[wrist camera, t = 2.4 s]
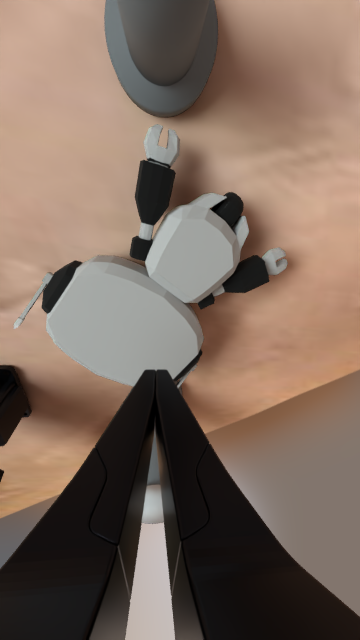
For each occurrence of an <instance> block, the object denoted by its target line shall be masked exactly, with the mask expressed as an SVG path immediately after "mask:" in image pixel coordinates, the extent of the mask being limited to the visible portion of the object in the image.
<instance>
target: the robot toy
mask: <svg viewBox="0 0 360 640" xmlns="http://www.w3.org/2000/svg"><path fill="white" fill-rule="evenodd" d="M162 127H163V126H161V125H158V124H157V125H154V126H152V127H150V128H149V129H148V132H147V135H146V137H145V140H144V147H145V151H146V156H147V160H148V161H145V160H142V161H140V167H139V174H138V180H137V186H136V193H135V200H136V204H137V208H138V213H139V216H140V219H141V227H140V233H139V236H136V237H134V238H132V243H131V249H130V256H131V257H132V258H135V259H138V260H142V261H145V264H146V268H145V267H143V266H141V265H140V264H137V263H135V262H132V261H130V260H127V259H125V258H121V257H117V256H108V255H97V256H95V257H93V258H91V259H89V260H87V261H85V262H84V263H82V262H79V261H76V260H75V261H73V262H71V263H69V264H67V265H66V266H64V267H63V268H61V269H59V270H58V271H57V272H55V273H54V274H52V273H51V272H48V273H47V274H46V276H45V277H44V279H43V280H42V281H43V284H42V285H41V287H40V288H39V290H38V291H37V293H36V294H35V295H34V297H33V298H32V300H31V301H30V303H29V304H28V306H27V307H26V309H25V310H24V312H23V313H22V315H21V316H20V317H19V318H18V319H17V320H16V322H15V323H14V329H15V328H17V327H18V326H20V325H21V324H22V322H23V321H24V319H25V316H26V315H27V313H28V312H29V310H30V309H31V307H32V306H33V305H34V303H35V302H36V300H37V299H38V297H39V296H40V294H41V293H42V291H43V290H44V291H43V301H42V309H43V310H44V311H45V312H46V313H47V324H46V330H47V332H48V334H49V335H50V337H51V338H52V340H53V341H54V343H55V344H56V345H57V346H58V347H59V348H60V349H61V350H62V351H63V352H65V353H66V354H67V355H68V356H69V357H71V358H72V359H73V360H75V361H76V362H78V363H79V364H81V365H82V366H84V367H85V368H87V369H88V370H90V371H91V372H93V373H95V374H96V375H99V376H101V377H104V378H107V379H110V380H113V381H116V382H119V383H122V384H126V385H130V386H134V385H135V384H136V382H137V381H138V379H139V378H140V376H141V375H142V373H143V372H144V370H146V369H155V370H157V369H166V370H168V372H169V373H170V375H171V377H172V379H173V380H174V381H177V380H178V379H180V378H181V379H180V380H179V382H178V383H177V384H176V386H177V387H178V388H179V387H180V385H181V384H182V383H183V381H184V380H185V379H186V377H187V376H188V374H189V373H190V372H191V371H194V369H195V368H196V367H197V363H198V360H199V358H200V356H201V355H202V351H201V345H202V343H203V340H204V337H203V333H202V329H201V326H200V323H199V321H198V318H197V316H196V314H195V312H194V310H193V309H192V307H191V306H190V304H189V303H198V305H199V307H200V309H203V308H205V307H207V306H209V305H212V304H214V301H215V299H214V297H215V296H218V295H220V294H222V293H224V292H232V293H246V292H248V291H250V290H252V289H254V288H256V287H259V286H261V285H263V284H265V283H267V282H269V275H277V274H279V273H280V272H282V271H283V270H284V269H286V267H287V264H288V263H287V260H286V259H284V258H283V259H281V260H279V261H277V262H275V261H276V260H278V259H280V258H282V257H284V256H286V254H285V251H284V250H282V249H281V248H274V249H270V250H268V251H267V252H266V253H265V254H264V256H263V257H262V258H260V257H259V256H258V255H253V256H251V257H249V258H247V259H245V260H243V261H241V262H239V261H240V251H241V248H242V246H243V244H244V242H245V239H246V237H247V235H248V233H249V229H248V225H247V221H246V217H245V216H240V215H241V213H242V212H243V201H242V200H241V198H240V197H239V196H238V195H237V194H235V193H232V192H228V193H226V194H225V195H224V196H222V195H218V194H215V193H208V194H203V195H201V196H200V197H198V198H197V199H195V200H193V201H192V202H190V203H189V204H186V205H179V206H177V207H175V208H174V209H173V210H171V211H170V212H168V213H167V214H166V215H165V217H164V219H163V221H162V222H161V224H160V226H159V228H158V229H157V231H156V233H155V235H154V237H153V239H151V238H152V233H153V228H154V225H155V224H156V223H157V221H158V220H159V219H160V218H161V216H162V215H163V213H164V212H165V211H166V209H167V208H168V206H169V201H170V197H171V192H172V187H173V183H174V178H175V174H176V173H175V171H174V170H172V169H170V167H171V166H172V165H173V163H174V162H175V160H176V159H177V158H178V156H179V150H180V139H179V137H178V136H177V134H176V132H175V131H174V130H172V129H169V130H168V142H167V148H164V147H161V146H158V141H159V137H160V133H161V131H162V129H163V128H162ZM212 206H213V208H212V209H211V210H210V209H209V208H211V207H212ZM47 284H48V285H47ZM45 287H46V288H45ZM44 288H45V289H44Z"/></svg>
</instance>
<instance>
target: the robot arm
mask: <svg viewBox="0 0 360 640" xmlns="http://www.w3.org/2000/svg"><path fill="white" fill-rule="evenodd" d="M31 412H32V410H31V407H30V405H29V403H28V400H27V398H26V395H25V393H24V391H23V388H22V386H21V383H20V381H19V378H18V376H17V374H16V371H15V369H14V368H12V367H10V366H0V446H4V445H5V444H6V443H7V442H8V440H9V438H10V437H11V435H12V433H13V432H14V430H15V428H16V427H17V425H18V423H19V422H20V420H21V418H22V417H29V416H30V414H31ZM154 431H155V434H156V445H157V455H158V466H159V476H160V486H161V497H162V507H163V517H164V527H165V536H166V537H165V538H166V548H167V557H168V568H169V579H170V589H171V595H172V610H173V619H174V630H175V640H360V617H359V616H358V615H357V614H356V613H355V612H354V611H352V610H351V609H350V608H349V607H348V606H347V605H345V604H344V603H343V602H342V601H341V600H339V599H338V598H337V597H336V596H335V595H334V594H332V593H331V592H330V591H329V590H328V589H327V588H325V587H324V586H323V585H322V584H321V583H320V582H319V581H317V580H316V579H315V578H314V577H313V576H312V575H310V574H309V573H308V572H307V571H306V570H305V569H303V568H302V567H301V566H300V565H299V564H298V563H297V562H296V561H295V560H294V559H293V558H292V557H291V556H290V554H289V553H288V552H287V551H286V550H285V549H284V548H283V547H282V545H281V544H280V543H279V541H278V540H277V539H276V538H275V536H274V535H273V534H272V532H271V531H270V530H269V528H268V527H267V526H266V524H265V523H264V521H263V520H262V519H261V517H260V516H259V515H258V513H257V512H256V511H255V509H254V508H253V507H252V505H251V504H250V503H249V501H248V500H247V498H246V497H245V496H244V494H243V493H242V492H241V490H240V489H239V487H238V486H237V485H236V483H235V482H234V481H233V479H232V477H231V476H230V475H229V473H228V472H227V470H226V469H225V467H224V466H223V464H222V462H221V461H220V459H219V457H218V456H217V454H216V453H215V451H214V449H213V447H212V445H211V444H209V441H208V439H207V437H206V436H205V434H204V432H203V430H202V429H201V427H200V425H199V423H198V422H197V420H196V418H195V416H194V415H193V413H192V411H191V410H190V408H189V406H188V404H187V403H186V401H185V399H184V398H183V396H182V394H181V392H180V391H179V389H178V387H177V386H176V384H175V382H174V380H173V379H172V377H171V375H170V373H169V372H168V370H166V369H157V370H155V369H146V370H144V372H143V373H142V375H141V376H140V378H139V379H138V381H137V382H136V384H135V385H134V387H133V388H132V390H131V391H130V393H129V394H128V396H127V398H126V399H125V401H124V402H123V404H122V405H121V407H120V408H119V410H118V411H117V413H116V414H115V416H114V417H113V419H112V420H111V422H110V424H109V425H108V427H107V428H106V430H105V431H104V433H103V434H102V436H101V437H100V439H99V440H98V442H97V443H96V445H95V448H93V449H92V451H91V452H90V454H89V455H88V457H87V458H86V460H85V461H84V463H83V464H82V466H81V467H80V469H79V470H78V472H77V473H76V474H75V476H74V477H73V479H72V480H71V481H70V483H69V484H68V485H67V486H66V488H65V489H64V490H63V492H62V493H61V494H60V496H59V497H58V498H57V500H56V501H55V502H54V503H53V505H52V506H51V507H50V508H49V509H48V511H47V512H46V513H45V514H44V516H43V517H42V518H41V519H40V521H39V522H38V523H37V524H36V526H35V527H34V528H33V530H32V531H31V532H30V533H29V534H28V536H27V537H26V538H25V539H24V541H23V542H22V543H21V545H20V546H19V547H18V548H17V549H16V551H15V552H14V553H13V554H12V556H11V557H10V558H9V559H8V560H7V562H6V563H5V564H4V565H3V566H2V567H1V569H0V640H125V635H126V628H127V621H128V614H129V607H130V599H131V593H132V586H133V578H134V572H135V565H136V558H137V550H138V544H139V537H140V530H141V523H142V516H143V509H144V502H145V495H146V488H147V481H148V474H149V467H150V460H151V453H152V446H153V439H154ZM3 474H4V471H3V470H1V469H0V482H1V479H2V476H3Z"/></svg>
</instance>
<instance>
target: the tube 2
mask: <svg viewBox="0 0 360 640" xmlns="http://www.w3.org/2000/svg"><path fill="white" fill-rule="evenodd" d="M174 382H175V384H177V383H178V381H174ZM178 389H179V391H180V392H181V394H182V388H181V385H180V387H179V388H178ZM163 522H164V517H163V507H162V497H161V486H160V476H159V466H158V455H157V445H156V434H155V431H154V439H153V446H152V453H151V460H150V467H149V474H148V481H147V488H146V495H145V502H144V509H143V516H142V523H147V524H156V523H163Z"/></svg>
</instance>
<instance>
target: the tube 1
mask: <svg viewBox="0 0 360 640" xmlns="http://www.w3.org/2000/svg"><path fill="white" fill-rule="evenodd" d="M104 18H105V35H106V42H107V47H108V52H109V55H110V58H111V62H112V64H113V67H114V69H115V72H116V74H117V76H118V79H119V81H120V83H121V85H122V87H123V89H124V90H125V92H126V94H127V95H128V96H129V98H130V99H131V100H132V101H133V102H134V103H135V104H136V105H137V106H138V107H139V108H141V109H142V110H143V111H145V112H147V113H149V114H151V115H154V116H158V117H171V116H175V115H178V114H180V113H182V112H184V111H186V110H187V109H188V108H189V107H191V106H192V105H193V104H194V103H195V101H196V100H197V99H198V97H199V96H200V94H201V92H202V91H203V89H204V87H205V84H206V82H207V80H208V78H209V75H210V73H211V70H212V67H213V64H214V60H215V56H216V50H217V41H218V21H217V12H216V7H215V2H214V0H106V4H105V17H104Z"/></svg>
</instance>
